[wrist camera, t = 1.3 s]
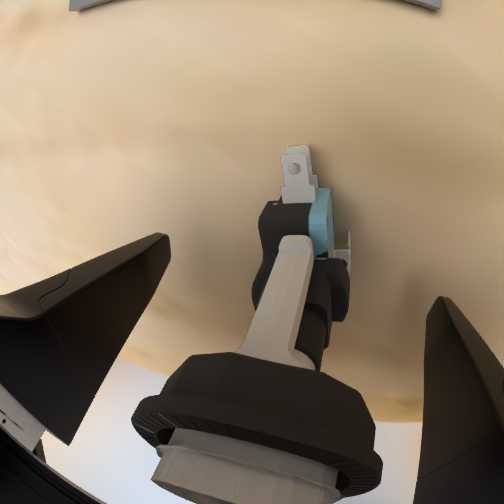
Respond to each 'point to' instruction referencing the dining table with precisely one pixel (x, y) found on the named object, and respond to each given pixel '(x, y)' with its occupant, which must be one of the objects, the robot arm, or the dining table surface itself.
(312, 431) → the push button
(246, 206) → the dining table surface
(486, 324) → the dining table surface
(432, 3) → the dock
